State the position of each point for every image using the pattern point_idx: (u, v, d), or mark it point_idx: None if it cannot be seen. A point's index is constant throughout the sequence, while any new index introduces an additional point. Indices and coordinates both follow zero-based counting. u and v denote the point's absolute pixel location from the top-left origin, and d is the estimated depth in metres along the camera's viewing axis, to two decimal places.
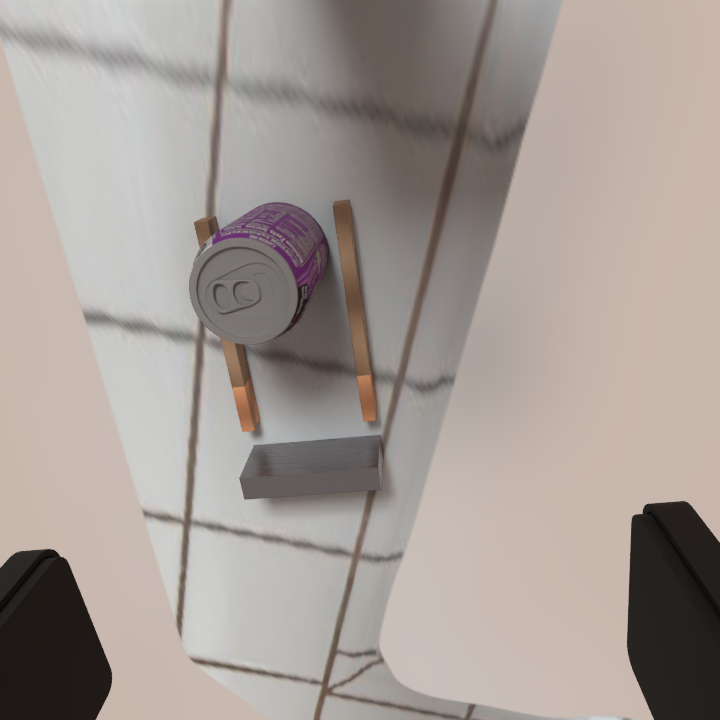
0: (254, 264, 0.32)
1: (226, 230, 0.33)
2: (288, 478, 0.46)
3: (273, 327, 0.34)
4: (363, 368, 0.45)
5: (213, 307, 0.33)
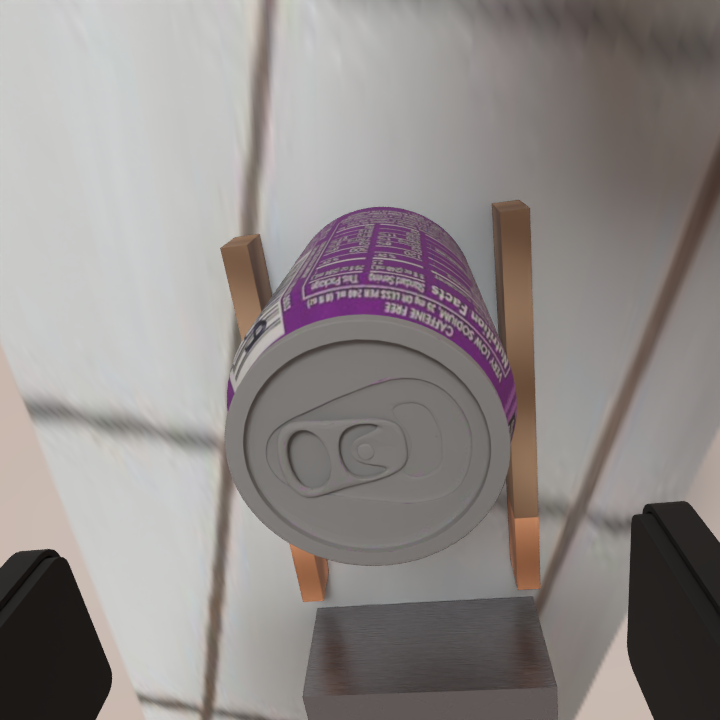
0: (397, 382, 0.12)
1: (319, 289, 0.13)
2: (390, 699, 0.26)
3: (435, 526, 0.13)
4: (528, 506, 0.25)
5: (285, 482, 0.13)
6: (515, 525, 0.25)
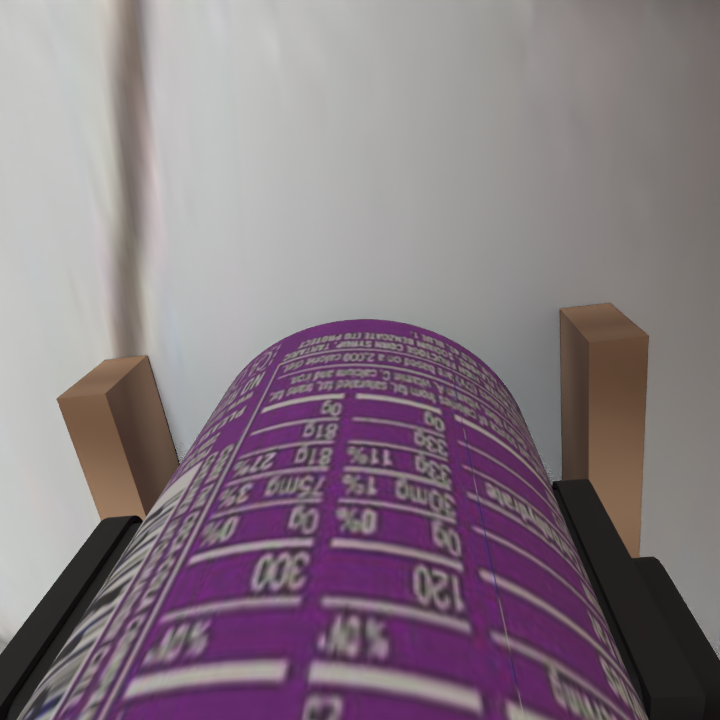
0: None
1: None
2: None
3: None
4: None
5: None
6: None
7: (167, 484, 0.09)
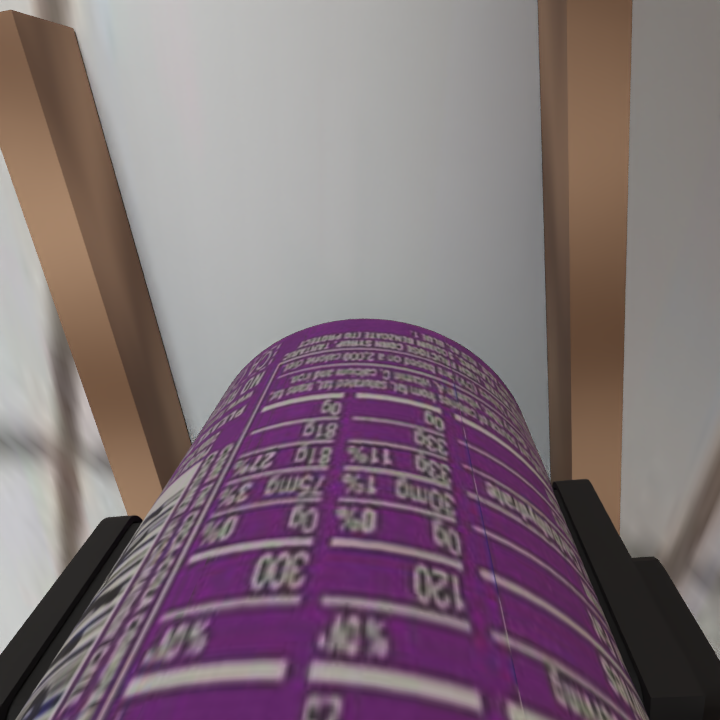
0: None
1: None
2: None
3: None
4: None
5: None
6: None
7: (167, 483, 0.09)
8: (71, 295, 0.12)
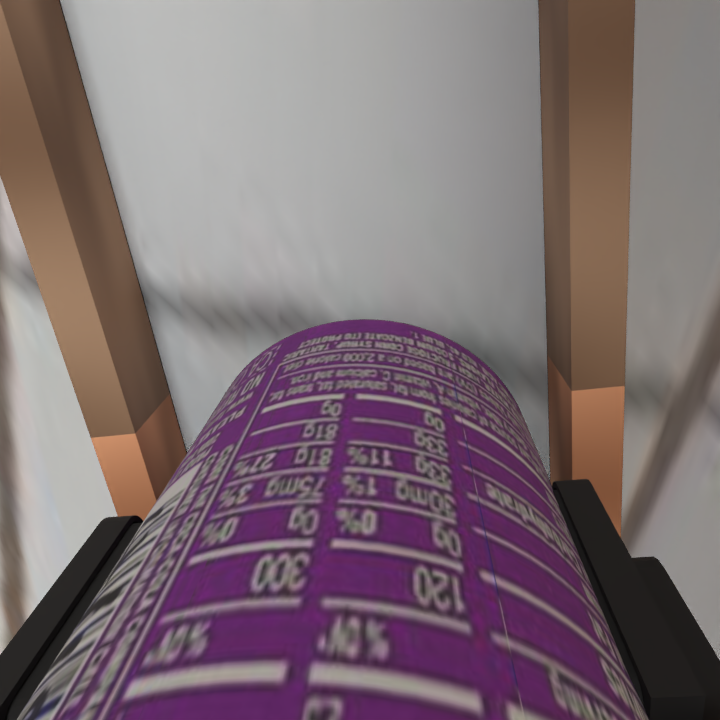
0: None
1: None
2: None
3: None
4: (602, 360, 0.11)
5: None
6: (572, 408, 0.12)
7: (167, 484, 0.09)
8: None
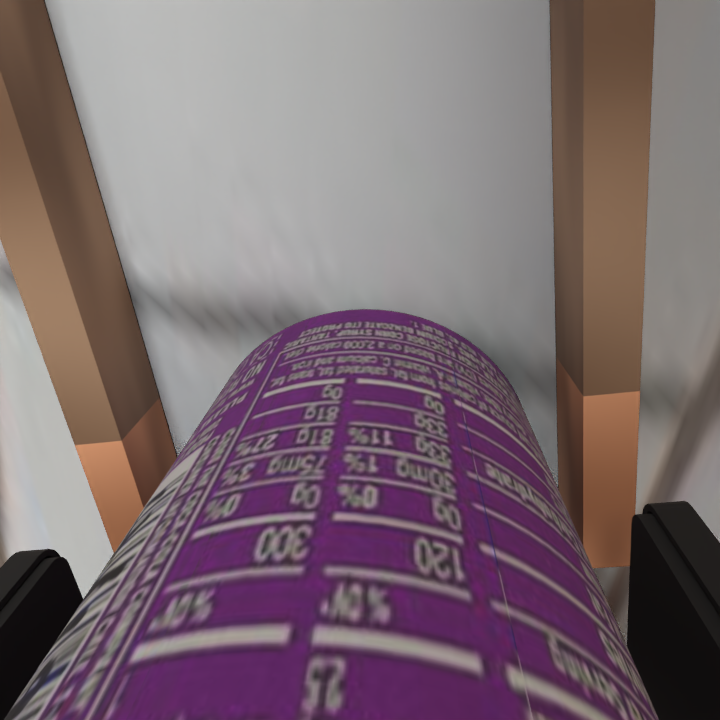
0: None
1: None
2: None
3: None
4: (616, 363, 0.10)
5: None
6: (584, 414, 0.11)
7: (169, 469, 0.09)
8: None
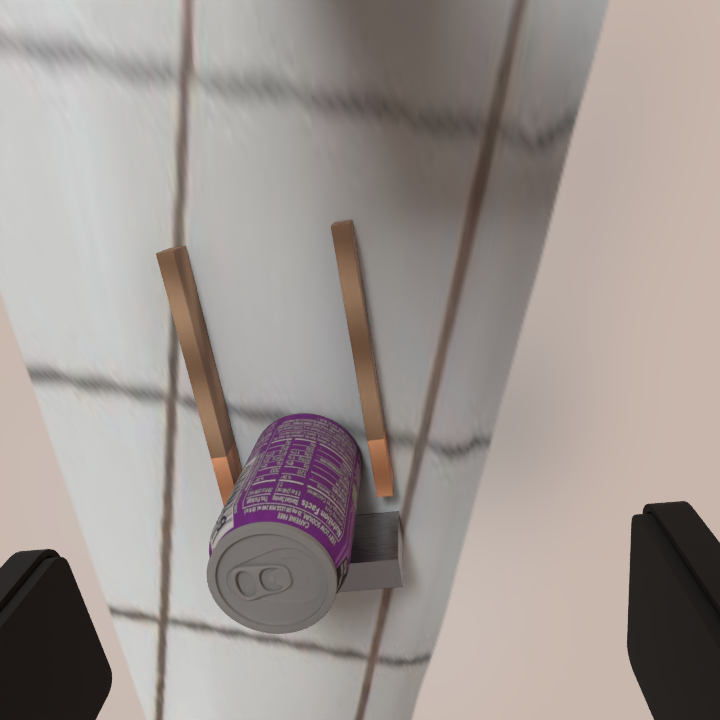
0: (284, 549, 0.27)
1: (250, 503, 0.28)
2: None
3: (308, 613, 0.28)
4: (375, 431, 0.35)
5: (236, 594, 0.28)
6: (369, 446, 0.36)
7: (247, 462, 0.34)
8: (184, 335, 0.34)
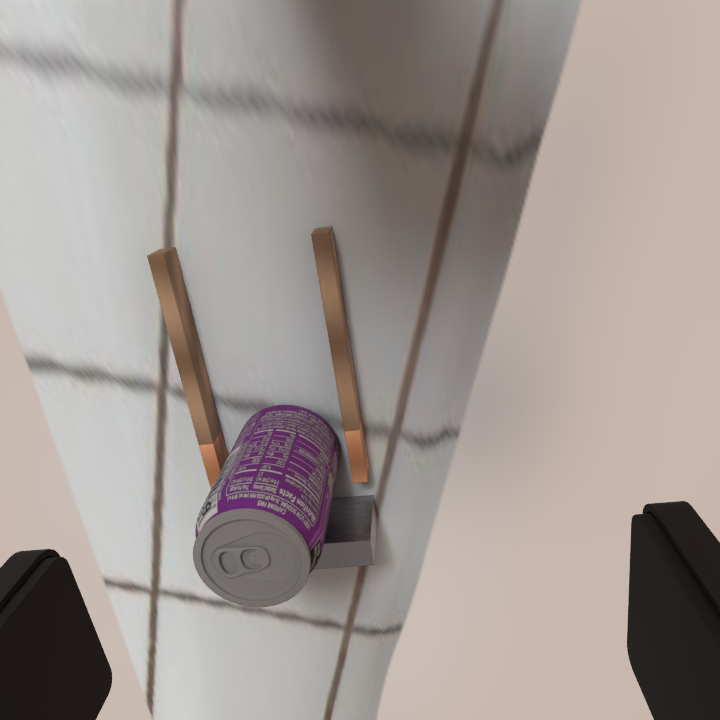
0: (262, 532, 0.30)
1: (232, 491, 0.31)
2: None
3: (284, 590, 0.31)
4: (351, 422, 0.38)
5: (219, 571, 0.31)
6: (345, 436, 0.39)
7: (231, 450, 0.37)
8: (174, 331, 0.36)
